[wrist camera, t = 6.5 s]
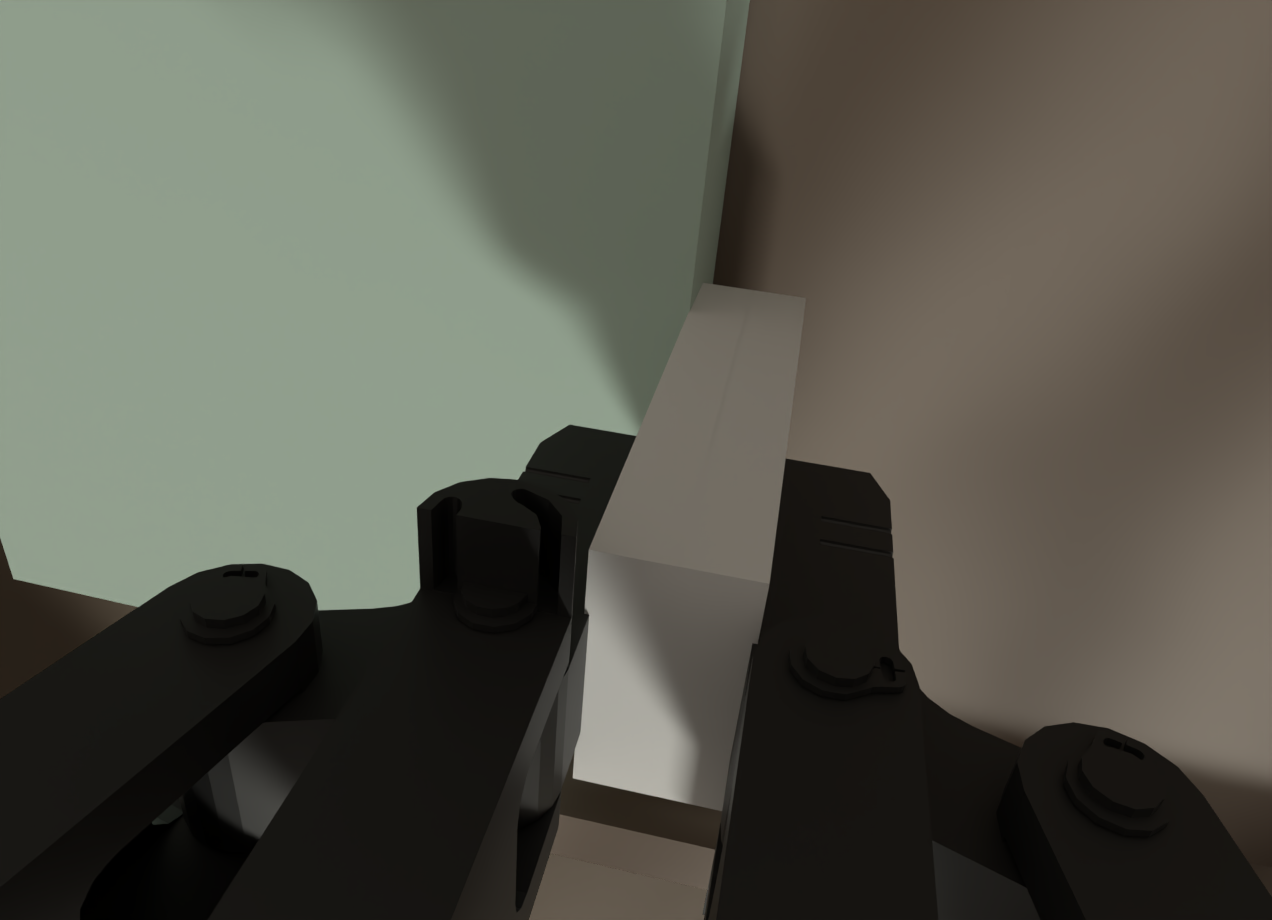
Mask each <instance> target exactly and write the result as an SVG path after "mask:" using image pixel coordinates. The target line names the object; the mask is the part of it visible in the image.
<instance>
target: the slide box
mask: <svg viewBox="0 0 1272 920" xmlns="http://www.w3.org/2000/svg"><path fill="white" fill-rule="evenodd" d="M713 284H715V285H722V286H728V287H735V288H742V289H748V290H755V291H762V292H769V293H775V294H782V295H789V296H795V297H802V298H806V303H805V311H804V319H803V326H802V334H801V342H800V350H799V358H798V365H797V373H796V381H795V389H794V397H793V404H792V412H791V420H790V428H789V436H788V444H787V451H786V459H792V460H798V461H804V462H810V463H815V464H821V465H827V466H833V467H839V468H845V469H850V470H856V471H862V472H868V473H871V475H872V476H873V477H874V479H875V480H876V481H877V483H878V484H879V486H880V487H881V488H882V490H883V491H884V492H885V494H886V495H887V497H888V498H889V499H890V504H891V521H892V531H891V534H892V537H893V557H892V558H894V571H895V587H896V604H897V621H898V638H899V649H900V651H901V653H902V654H903V655H904V656H905V657H906V658H907V659H908V660H909V661H910V663H911V664H912V666H913V669H914V672H915V675H916V678H917V680H918V683H919V686H920V689H921V690H922V691H923V692H924V693H925V695H926V696H927V697H928V698H929V699H931V700H932V701H933V702H935V703H936V704H937V705H939V706H940V707H941V708H943V709H944V710H945V711H947V712H948V713H949V714H951V715H953V716H955V717H957V718H959V719H960V720H962V721H964V722H966V723H968V724H970V725H972V726H973V727H976V728H978V729H980V730H982V731H985V732H987V733H989V734H991V735H994V736H996V737H998V738H1000V739H1003V740H1005V741H1007V742H1009V743H1012V744H1014V745H1016V746H1018V747H1020V748H1022V746H1023V743H1024V741H1025V740H1026V739H1027V738H1028V737H1030V736H1031V735H1033V734H1034V733H1036V732H1037V731H1039V730H1040V729H1041V728H1043V727H1044V726H1050V725H1057V724H1065V723H1072V722H1075V723H1081V724H1087V725H1093V726H1099V727H1104V728H1109V729H1112V730H1114V731H1116V732H1119V733H1121V734H1123V735H1126V736H1128V737H1130V738H1133V739H1135V740H1138V741H1140V742H1142V743H1145V744H1146V745H1148V746H1149V747H1150V748H1152V749H1153V750H1155V751H1156V752H1158V753H1159V754H1160V755H1162V756H1163V757H1165V758H1166V759H1168V760H1169V761H1170V762H1172V763H1173V764H1175V765H1176V766H1178V767H1179V768H1180V770H1181V771H1182V772H1183V773H1184V774H1185V775H1186V776H1187V777H1188V779H1189V780H1190V781H1191V782H1192V783H1193V784H1194V785H1195V786H1196V787H1197V789H1198V790H1199V791H1200V792H1201V793H1202V794H1203V795H1204V797H1205V798H1206V800H1207V801H1208V803H1209V804H1210V806H1211V807H1212V809H1213V810H1214V812H1215V813H1216V815H1217V816H1218V818H1219V819H1220V821H1221V822H1222V823H1223V825H1224V826H1225V828H1226V829H1227V831H1228V832H1229V834H1230V835H1231V837H1232V838H1233V840H1234V841H1235V843H1236V844H1237V846H1238V847H1239V849H1240V850H1241V852H1242V853H1243V855H1244V856H1245V858H1246V859H1247V861H1248V862H1249V864H1250V865H1251V867H1252V868H1253V870H1254V871H1255V873H1256V874H1257V875H1258V877H1259V878H1260V880H1261V881H1262V883H1263V884H1264V886H1265V887H1266V889H1267V890H1268V892H1269V893H1270V895H1271V896H1272V0H750V3H749V11H748V18H747V26H746V34H745V41H744V49H743V56H742V64H741V72H740V79H739V87H738V95H737V102H736V110H735V118H734V125H733V133H732V141H731V148H730V156H729V163H728V171H727V179H726V186H725V194H724V202H723V209H722V217H721V225H720V232H719V240H718V248H717V255H716V263H715V271H714V278H713ZM574 752H575V750H574ZM573 766H574V753H573V756H572V759H571V762H570V765H569V768H568V771H567V774H566V777H565V780H564V783H563V786H562V789H561V803H560V815H559V827H558V830H557V833H556V836H555V840H554V843H553V846H552V849H551V852H550V854H555V855H559V856H563V857H567V858H572V859H576V860H580V861H585V862H589V863H593V864H597V865H602V866H606V867H610V868H615V869H619V870H623V871H627V872H632V873H636V874H640V875H645V876H649V877H653V878H657V879H662V880H666V881H670V882H674V883H679V884H683V885H687V886H692V887H696V888H700V889H704V890H707V889H708V884H709V879H710V874H711V869H712V864H713V858H714V853H715V848H716V843H717V838H718V833H719V828H720V823H721V816H722V811H719V810H714V809H710V808H705V807H701V806H696V805H692V804H687V803H683V802H678V801H674V800H669V799H665V798H660V797H656V796H651V795H646V794H642V793H637V792H633V791H628V790H623V789H619V788H614V787H610V786H605V785H601V784H596V783H592V782H587V781H583V780H578V779H574V778H573Z"/></svg>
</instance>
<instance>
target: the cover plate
mask: <svg viewBox="0 0 1272 920" xmlns="http://www.w3.org/2000/svg"><path fill="white" fill-rule="evenodd" d="M749 3H750V0H0V539H1V542H2V545H3V548H4V551H5V554H6V557H7V560H8V563H9V567H10V570H11V573H12V576H13V579H16V580H20V581H25V582H29V583H34V584H38V585H43V586H47V587H52V588H56V589H61V590H65V591H69V592H74V593H78V594H83V595H87V596H92V597H96V598H101V599H105V600H110V601H114V602H119V603H123V604H127V605H132V606H136V607H139V606H141V605H142V604H144V603H145V602H147V601H148V600H150V599H151V598H153V597H154V596H156V595H157V594H159V593H160V592H162V591H163V590H165V589H166V588H168V587H169V586H171V585H173V584H175V583H177V582H179V581H181V580H183V579H185V578H187V577H189V576H191V575H193V574H195V573H198V572H201V571H205V570H209V569H213V568H217V567H221V566H225V565H230V564H261V563H262V564H267V565H271V566H275V567H280V568H284V569H288V570H290V571H292V572H293V573H295V574H297V575H298V576H300V577H301V578H303V579H304V580H306V581H307V582H309V584H310V586H311V589H312V591H313V593H314V595H315V597H316V599H317V604H318V610H344V609H374V608H383V607H392V606H399V605H403V604H406V603H410V602H412V600H413V599H414V597H415V596H416V594H417V593H418V591H419V589H420V573H419V550H418V528H417V507H418V506H419V505H420V504H421V503H422V502H424V501H425V500H426V499H427V498H428V497H429V496H431V495H432V494H433V493H434V492H436V491H439V490H441V489H444V488H446V487H449V486H451V485H454V484H456V483H459V482H463V481H471V480H478V479H485V478H501V479H516V480H518V479H519V477H520V475H521V474H522V472H523V471H524V472H525V469H526V465H527V464H528V462H529V460H530V459H531V457H532V455H533V454H534V452H535V450H536V449H537V447H538V445H539V444H540V442H542V441H543V440H545V439H547V438H548V437H550V436H552V435H553V434H555V433H557V432H558V431H560V430H561V429H563V428H565V427H566V426H568V425H576V426H581V427H587V428H593V429H599V430H605V431H610V432H616V433H622V434H628V435H634V436H637V434H638V431H639V429H640V427H641V424H642V422H643V419H644V417H645V415H646V412H647V410H648V408H649V405H650V403H651V400H652V398H653V396H654V393H655V391H656V388H657V386H658V384H659V381H660V379H661V377H662V374H663V372H664V369H665V367H666V365H667V362H668V360H669V358H670V355H671V353H672V350H673V348H674V346H675V343H676V341H677V338H678V336H679V334H680V331H681V329H682V327H683V324H684V322H685V319H686V317H687V315H688V312H690V310H691V308H692V305H693V303H694V301H695V299H696V297H697V295H698V293H699V290H700V288H701V286H702V284H703V283H708V284H713V278H714V271H715V263H716V255H717V248H718V240H719V232H720V225H721V217H722V209H723V202H724V194H725V186H726V179H727V171H728V163H729V156H730V148H731V141H732V133H733V125H734V118H735V110H736V102H737V95H738V87H739V79H740V72H741V64H742V56H743V49H744V41H745V34H746V26H747V18H748V11H749Z"/></svg>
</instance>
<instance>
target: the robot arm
mask: <svg viewBox="0 0 1272 920" xmlns="http://www.w3.org/2000/svg"><path fill="white" fill-rule="evenodd" d="M805 303H806V298H802V297H795V296H789V295H782V294H775V293H769V292H762V291H755V290H748V289H742V288H735V287H728V286H722V285H715V284H708V283H703V284H702V286H701V288H700V290H699V293H698V295H697V297H696V299H695V301H694V303H693V305H692V308H691V310H690V312H688V315H687V317H686V319H685V322H684V324H683V327H682V329H681V331H680V334H679V336H678V338H677V341H676V343H675V346H674V348H673V350H672V353H671V355H670V358H669V360H668V362H667V365H666V367H665V369H664V372H663V374H662V377H661V379H660V381H659V384H658V386H657V388H656V391H655V393H654V396H653V398H652V400H651V403H650V405H649V408H648V410H647V412H646V415H645V417H644V419H643V422H642V424H641V427H640V429H639V431H638V434H637V436H634V435H628V434H622V433H616V432H610V431H605V430H599V429H593V428H587V427H581V426H576V425H568V426H566V427H565V428H563V429H561V430H560V431H558V432H557V433H555V434H553V435H552V436H550V437H548V438H547V439H545V440H543V441H542V442H540V444H539V445H538V447H537V449H536V450H535V452H534V454H533V455H532V457H531V459H530V460H529V462H528V464H527V465H526V469H525V472H524V471H523V472H522V474H521V475H520V477H519V479H518V480H516V479H501V478H485V479H478V480H471V481H463V482H459V483H456V484H454V485H451V486H449V487H446V488H444V489H441V490H439V491H436V492H434V493H433V494H432V495H431V496H429V497H428V498H427V499H426V500H425V501H424V502H422V503H421V504H420V505H419V506H418V507H417V528H418V550H419V573H420V589H419V591H418V593H417V594H416V596H415V597H414V599H413V600H412V602H410V603H406V604H403V605H399V606H392V607H383V608H374V609H344V610H318V604H317V599H316V597H315V595H314V593H313V591H312V589H311V586H310V584H309V582H307V581H306V580H304V579H303V578H301V577H300V576H298V575H297V574H295V573H293V572H292V571H290V570H288V569H284V568H280V567H275V566H271V565H267V564H262V563H261V564H230V565H225V566H221V567H217V568H213V569H209V570H205V571H201V572H198V573H195V574H193V575H191V576H189V577H187V578H185V579H183V580H181V581H179V582H177V583H175V584H173V585H171V586H169V587H168V588H166V589H165V590H163V591H162V592H160V593H159V594H157V595H156V596H154V597H153V598H151V599H150V600H148V601H147V602H145V603H144V604H142V605H141V606H139V607H138V608H136V609H135V610H133V611H132V612H130V613H129V614H127V615H126V616H124V617H123V618H121V619H120V620H118V621H117V622H115V623H114V624H112V625H111V626H109V627H108V628H106V629H105V630H103V631H102V632H100V633H99V634H97V635H96V636H94V637H93V638H91V639H90V640H88V641H87V642H85V643H84V644H82V645H81V646H79V647H78V648H76V649H75V650H73V651H72V652H70V653H69V654H67V655H66V656H64V657H63V658H61V659H60V660H58V661H57V662H55V663H54V664H52V665H51V666H49V667H48V668H46V669H45V670H43V671H42V672H40V673H39V674H37V675H36V676H34V677H33V678H31V679H30V680H28V681H27V682H25V683H24V684H22V685H21V686H19V687H18V688H16V689H15V690H13V691H12V692H10V693H9V694H7V695H6V696H4V697H3V698H1V699H0V920H529V917H530V914H531V911H532V908H533V905H534V902H535V898H536V895H537V892H538V889H539V886H540V883H541V880H542V877H543V874H544V871H545V867H546V864H547V861H548V858H549V855H550V852H551V849H552V846H553V843H554V840H555V836H556V833H557V830H558V827H559V815H560V803H561V789H562V786H563V783H564V780H565V777H566V774H567V771H568V768H569V765H570V762H571V759H572V756H573V753H574V766H573V778H574V779H578V780H583V781H587V782H592V783H596V784H601V785H605V786H610V787H614V788H619V789H623V790H628V791H633V792H637V793H642V794H646V795H651V796H656V797H660V798H665V799H669V800H674V801H678V802H683V803H687V804H692V805H696V806H701V807H705V808H710V809H714V810H719V811H722V816H721V823H720V828H719V833H718V838H717V843H716V848H715V853H714V858H713V864H712V869H711V874H710V879H709V884H708V889H707V894H706V899H705V905H704V910H703V915H705V917H704V920H1272V896H1271V895H1270V893H1269V892H1268V890H1267V889H1266V887H1265V886H1264V884H1263V883H1262V881H1261V880H1260V878H1259V877H1258V875H1257V874H1256V873H1255V871H1254V870H1253V868H1252V867H1251V865H1250V864H1249V862H1248V861H1247V859H1246V858H1245V856H1244V855H1243V853H1242V852H1241V850H1240V849H1239V847H1238V846H1237V844H1236V843H1235V841H1234V840H1233V838H1232V837H1231V835H1230V834H1229V832H1228V831H1227V829H1226V828H1225V826H1224V825H1223V823H1222V822H1221V821H1220V819H1219V818H1218V816H1217V815H1216V813H1215V812H1214V810H1213V809H1212V807H1211V806H1210V804H1209V803H1208V801H1207V800H1206V798H1205V797H1204V795H1203V794H1202V793H1201V792H1200V791H1199V790H1198V789H1197V787H1196V786H1195V785H1194V784H1193V783H1192V782H1191V781H1190V780H1189V779H1188V777H1187V776H1186V775H1185V774H1184V773H1183V772H1182V771H1181V770H1180V768H1179V767H1178V766H1176V765H1175V764H1173V763H1172V762H1170V761H1169V760H1168V759H1166V758H1165V757H1163V756H1162V755H1160V754H1159V753H1158V752H1156V751H1155V750H1153V749H1152V748H1150V747H1149V746H1148V745H1146V744H1145V743H1142V742H1140V741H1138V740H1135V739H1133V738H1130V737H1128V736H1126V735H1123V734H1121V733H1119V732H1116V731H1114V730H1112V729H1109V728H1104V727H1099V726H1093V725H1087V724H1081V723H1075V722H1072V723H1065V724H1057V725H1050V726H1044V727H1043V728H1041V729H1040V730H1039V731H1037V732H1036V733H1034V734H1033V735H1031V736H1030V737H1028V738H1027V739H1026V740H1025V741H1024V743H1023V746H1022V748H1020V747H1018V746H1016V745H1014V744H1012V743H1009V742H1007V741H1005V740H1003V739H1000V738H998V737H996V736H994V735H991V734H989V733H987V732H985V731H982V730H980V729H978V728H976V727H973V726H972V725H970V724H968V723H966V722H964V721H962V720H960V719H959V718H957V717H955V716H953V715H951V714H949V713H948V712H947V711H945V710H944V709H943V708H941V707H940V706H939V705H937V704H936V703H935V702H933V701H932V700H931V699H929V698H928V697H927V696H926V695H925V693H924V692H923V691H922V690H921V689H920V686H919V683H918V680H917V678H916V675H915V672H914V669H913V666H912V664H911V663H910V661H909V660H908V659H907V658H906V657H905V656H904V655H903V654H902V653H901V651H900V649H899V638H898V621H897V604H896V587H895V571H894V558H892V557H893V537H892V534H891V531H892V521H891V504H890V499H889V498H888V497H887V495H886V494H885V492H884V491H883V490H882V488H881V487H880V486H879V484H878V483H877V481H876V480H875V479H874V477H873V476H872V475H871V473H868V472H862V471H856V470H850V469H845V468H839V467H833V466H827V465H821V464H815V463H810V462H804V461H798V460H792V459H786V451H787V444H788V436H789V428H790V420H791V412H792V404H793V397H794V389H795V381H796V373H797V365H798V358H799V350H800V342H801V334H802V326H803V319H804V311H805ZM574 750H575V752H574Z"/></svg>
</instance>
